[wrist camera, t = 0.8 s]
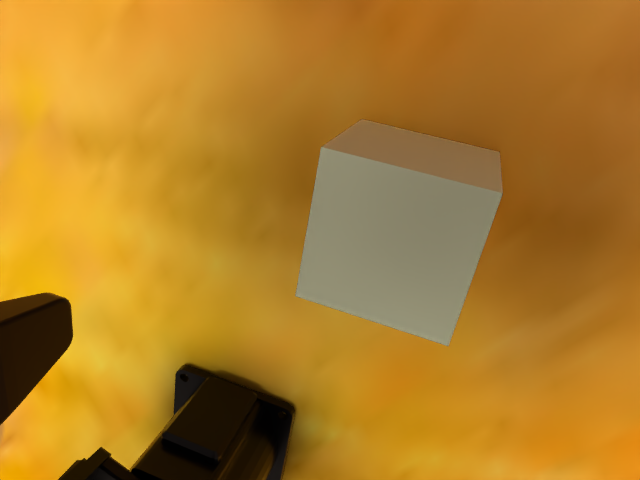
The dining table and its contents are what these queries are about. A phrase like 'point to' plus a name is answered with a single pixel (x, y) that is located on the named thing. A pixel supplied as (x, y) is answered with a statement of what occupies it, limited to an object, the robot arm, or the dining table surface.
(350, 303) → the cube
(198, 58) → the dining table surface
